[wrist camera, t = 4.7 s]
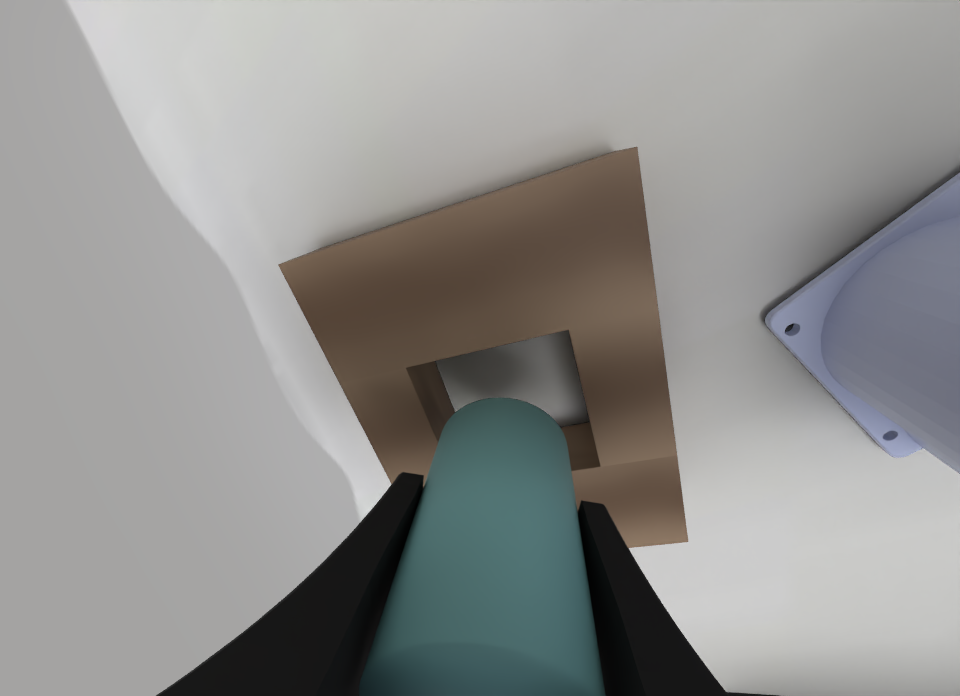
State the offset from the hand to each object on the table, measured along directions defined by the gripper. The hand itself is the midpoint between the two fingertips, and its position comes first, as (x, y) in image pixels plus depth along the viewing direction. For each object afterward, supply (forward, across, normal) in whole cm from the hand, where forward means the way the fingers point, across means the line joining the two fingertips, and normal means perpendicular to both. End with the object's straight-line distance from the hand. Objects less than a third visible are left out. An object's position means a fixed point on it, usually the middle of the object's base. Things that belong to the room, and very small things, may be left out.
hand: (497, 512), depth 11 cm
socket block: (+8, 0, 0) cm, 8 cm away
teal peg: (+2, 0, 0) cm, 3 cm away
